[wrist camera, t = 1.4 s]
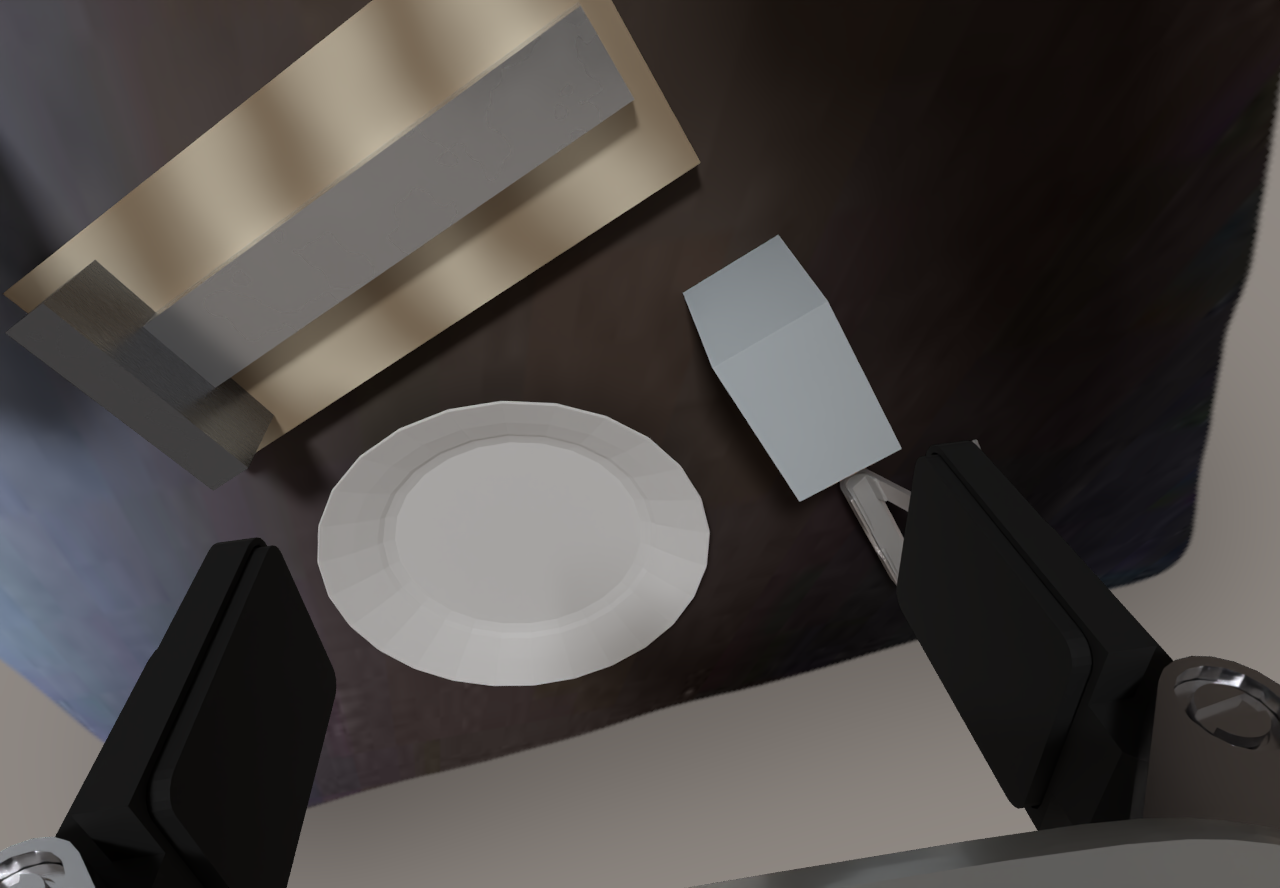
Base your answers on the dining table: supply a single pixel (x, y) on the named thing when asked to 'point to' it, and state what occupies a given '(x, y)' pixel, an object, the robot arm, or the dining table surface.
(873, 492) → the portable electronic device stand
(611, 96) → the din rail
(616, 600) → the plate
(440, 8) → the rail board
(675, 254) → the dining table surface
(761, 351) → the block
